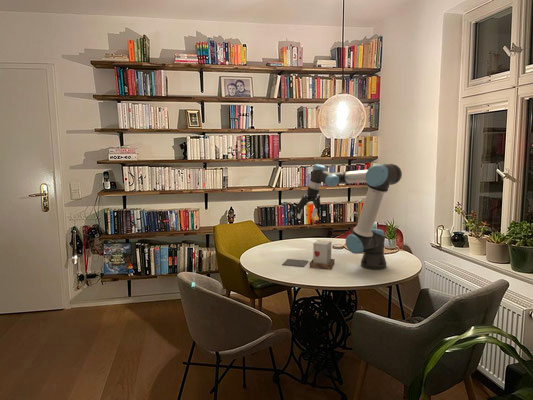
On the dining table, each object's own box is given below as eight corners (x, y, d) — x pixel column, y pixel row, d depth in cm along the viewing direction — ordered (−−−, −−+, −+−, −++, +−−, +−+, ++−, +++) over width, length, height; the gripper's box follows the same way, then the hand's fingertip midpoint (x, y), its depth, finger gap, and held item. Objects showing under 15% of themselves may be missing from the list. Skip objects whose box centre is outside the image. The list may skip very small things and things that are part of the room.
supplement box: (312, 266, 230) (312, 242, 228) (317, 262, 238) (317, 239, 236) (326, 268, 225) (327, 244, 224) (331, 264, 233) (331, 241, 232)
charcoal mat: (308, 261, 241) (308, 260, 241) (303, 267, 229) (303, 266, 229) (287, 259, 245) (287, 258, 245) (281, 265, 233) (281, 264, 233)
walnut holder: (334, 263, 235) (334, 258, 235) (330, 269, 223) (331, 264, 223) (314, 261, 240) (314, 257, 239) (309, 267, 228) (309, 262, 227)
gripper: (323, 186, 256) (315, 214, 262) (296, 185, 240) (288, 216, 247) (330, 189, 251) (322, 219, 257) (304, 189, 235) (295, 220, 241)
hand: (305, 217), depth 252 cm, fingers open, 13 cm apart
